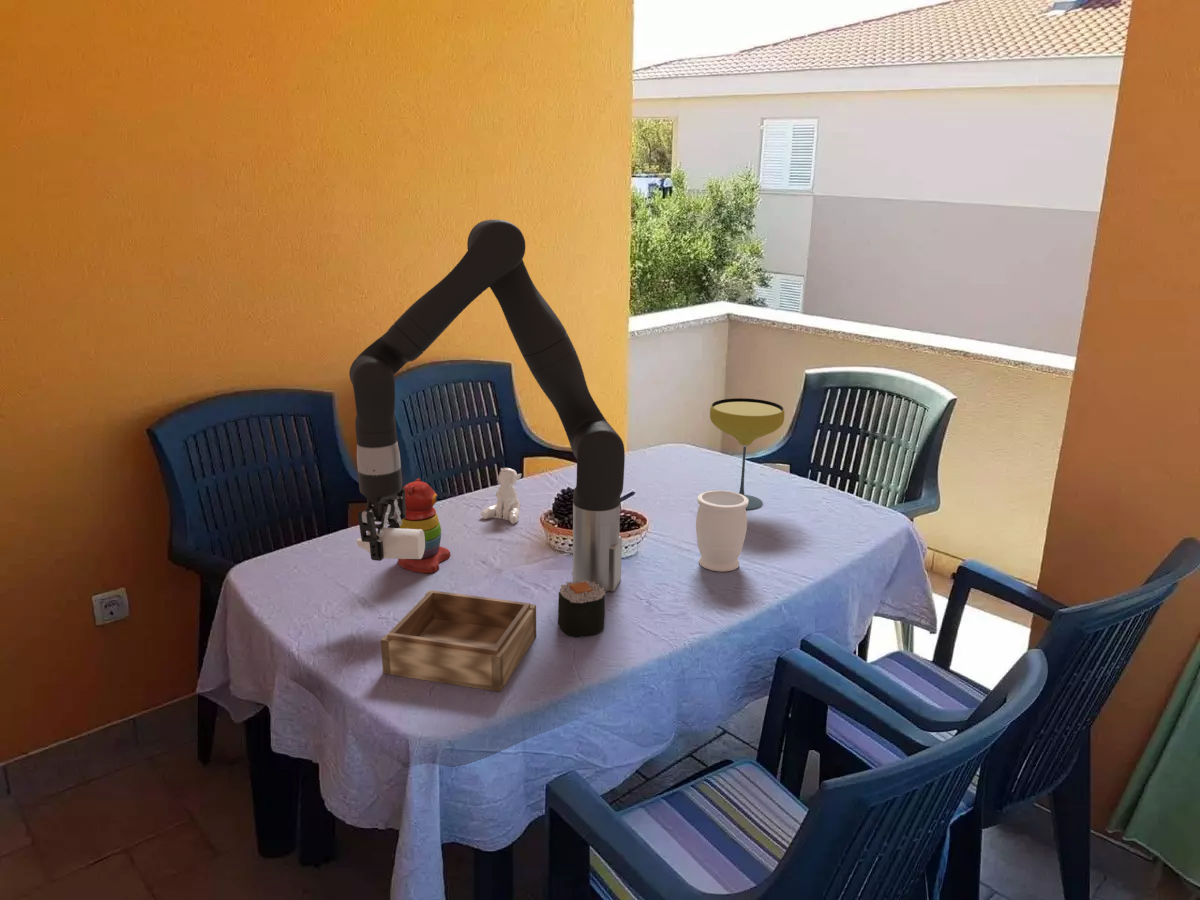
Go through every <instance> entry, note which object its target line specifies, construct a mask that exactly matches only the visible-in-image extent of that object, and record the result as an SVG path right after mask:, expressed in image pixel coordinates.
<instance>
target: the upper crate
mask: <svg viewBox="0 0 1200 900" xmlns="http://www.w3.org/2000/svg"><path fill="white" fill-rule="evenodd" d="M429 591H430V592H429V593H428V594H427V595H426V596H425V595H424V596H425V597H424V596H423V597H424V598H423V597H422V598H423V599H422V598H421V599H422V600H421V599H420V600H421V601H420V600H419V601H420V602H419V601H418V602H419V603H418V602H417V603H418V604H417V603H416V604H417V605H416V604H415V605H416V606H415V605H414V606H415V607H414V608H413V607H412V609H411V610H409V612H408V613H406V614H405V616H404V617H403V618H401V620H400V621H398V622H397V624H396V625H395V626H394V627H395V628H394V627H393V628H394V629H393V628H392V629H393V630H392V629H391V630H392V631H391V630H390V631H391V632H390V631H389V632H390V633H389V632H388V633H389V634H388V633H387V634H388V635H387V634H386V635H387V637H388V638H390V639H391V640H397V641H403V642H410V643H417V644H424V645H431V646H437V647H444V648H451V649H458V650H465V651H471V652H478V653H485V654H497V653H498V652H499V651H500V650H501V648H502V647H503V646H504V644H505V643H506V641H507V640H508V638H509V637H510V636H511V634H512V633H513V631H514V630H515V628H516V627H517V626H518V624H519V623H520V621H521V620H522V619H523V617H524V616H525V614H526V613H527V611H528V610H529V608H530V604H531V603H530V602H523V601H516V600H509V599H508V600H507V599H501V598H491V597H484V596H477V595H472V594H471V595H468V594H463V593H454V592H447V591H446V592H445V591H439V590H429Z"/></svg>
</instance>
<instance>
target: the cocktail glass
mask: <svg viewBox="0 0 1200 900" xmlns="http://www.w3.org/2000/svg"><path fill="white" fill-rule="evenodd" d="M709 419H710V421H711V423H712V424H713V426H715V427H716V428H717V429H719V430H721V432H724V433H725V434H727V435H730V436H731V437H733V438H734V439H736V441H737V442H738V443H739V444H740V446H742V448H743V449H742V465H741V466H742V467H741V478H740V480H741V481H740V486H739V487H740V488H739V492H738V493H739V494H742V495H744V496H746V497H747V498H748V500H749V501H748V506H747V507H746V508H745V509H746V511H752V510H757V509H759V507H760V508H761V507H762V506H763V504H764V503H763V501H762V499H760V498H758V497H756V496H753V495H750V494H745V469H746V467H745V465H746V453H747V451H746V450H747V447H749V446H750V445H751V444H752V443H753V442H755V440H757V439H759V438H761V437H764V436H767V435H769V434H772V433H774V432H776V431H777V430H778V429H780V428H781V427H782V425H783V424H784V421H785V409H784V407H783V406H782V405H780V404H778V403H776V402H773V401H770V400H763V399H759V398H745V397H744V398H742V397H738V398H734V397H733V398H725V399H721V400H716V401H714V402H712V403H711V406H710V409H709Z"/></svg>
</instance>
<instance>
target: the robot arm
mask: <svg viewBox="0 0 1200 900" xmlns="http://www.w3.org/2000/svg"><path fill="white" fill-rule="evenodd" d="M523 234H524V233H522V231H521V229H519V227H518V226H516V225H515V224H514V223H512V222H510V221H508V220H504V219H486V220H482V221H480V222H478V223H476V224H475V225H474V226H473V227H472V229H471V230H470V232H469V234H468V237H467V243H466V244H467V246H466V247H467V251H466V252H465V254H464V255H463V256H462V257H461V259H460V260H459V262H458V263H457V264H456V265H455V266H454V267H453V268H452V270H451V271H450V272H448V273H447V274H446V276H444V277H443V278H442V279H441V280H440V281H439V282H437V284H435V285H434V286H433V287H432V288H430V289H429V290H428V291H426V292H425V293H424V294H423V295H422V296H420V298H418V299H417V300H416V301H415V302H414V303H413V304H411V305H410V306H409V307H408V308H407V309H406V310H405V311H404V313H403V314H402V315H400V317H399V318H398V319H396V321H395V322H393V324H392V325H391V326H390V327H389V328H388V329H387V331H385V333H384V334H383V335H381V336H380V337H379V338H377V339H375V341H374V342H372V343H371V344H370V345H368V347H366V348H365V349H364V350H363V351H362V352H361V353H360V354H358V356H357V357H356V358H355V359H353V362H352V363H351V365H350V368H349V379H350V382H351V384H352V389H353V395H354V404H355V410H356V412H355V413H356V416H355V420H354V421H355V423H354V426H355V439H356V464H357V465H356V467H357V475H358V487H359V492H360V494H361V495H363V496H364V497H366V499H367V503H366V509H365V510H359V511H358V512H357V519H358V525H359V532H360V537H361V539H362V541H363V542H369V543H370V553H371V554H370V553H369V554H370V559H371V560H372V561H377V562H381V561H382V560H384V559H385V558H384V554H383V542H382V536H383V530H384V529H386V528H400V526H401V524H402V519H405V518H406V503H405V489H404V487H403V477H402V463H401V454H400V453H401V452H400V448H399V444H398V434H397V433H398V432H397V431H398V430H397V420H396V416H395V412H396V409H395V408H396V386H395V385H396V384H395V375H396V374H397V373H398V372H399V371H400V370H402V368H403V367H404V366H405V365H406V364H408V363H409V362H414V361H415V360H417V359H418V358H419V357H420V356H421V355H423V353H424V352H425V351H426V350H427V349H429V347H430V346H431V345H432V344H433V343H434V342H435V341H436V340H437V339H438V337H440V335H442V334H443V333H444V331H445V330H446V329H448V327H449V326H450V325H451V324H452V323H453V322H454V321H455V319H457V317H459V315H461V313H462V312H463V311H464V310H466V308H468V306H469V305H470V304H471V303H472V302H473V301H475V300H476V299H477V298H478V297H479V296H480V295H481V294H482V293H484V292H485V291H486V290H488V288H489V289H490V290H491V291H492V293H493V295H494V297H495V298H496V300H497V302H498V304H499V306H500V308H501V310H502V313H503V316H504V318H505V320H506V323H507V325H508V328H509V330H510V332H511V334H512V336H513V338H514V341H515V342H516V344H517V347H518V349H519V352H520V354H521V355H522V357H523V359H524V361H525V363H526V366H527V367H528V368H529V371H530V372H531V375H532V376H533V378H534V379H535V381H536V383H537V384H538V386H539V387H540V388H541V390H542V392H543V393H544V394H545V396H546V397H547V398H548V400H549V401H550V403H551V405H552V406H553V407H554V409H555V411H556V413H557V415H558V416H559V419H560V421H561V424H562V426H563V429H564V432H565V434H566V437H567V439H568V443H569V444H570V445H569V446H570V448H571V451H572V454H573V456H574V457H575V459H576V482H575V483H576V485H575V488H574V489H573V493H572V494H573V495H572V496H573V497H572V582H573V581H574V582H576V581H577V579H579V580H580V581H581V580H587V581H590V582H591V583H592V582H595V585H596V584H599V586H598V587H600V588H604V590H603V591H605V592H615V591H616V589H617V587H618V586H619V583H620V582H621V579H622V550H623V549H622V548H623V547H622V544H623V543H622V542H623V540H622V539H623V537H622V536H621V535H620V522H621V520H620V519H621V496H622V493H623V490H624V481H625V480H624V479H625V462H626V461H625V459H626V457H625V456H626V455H625V453H626V451H625V444H624V442H623V440H622V438H621V437H620V435H619V434H618V433H617V431H616V430H615V429H614V428H613V427H612V425H611V424H610V423H609V422H608V421H607V419H606V417H605V416H604V415H603V413H602V412H601V410H600V408H599V407H598V405H597V403H596V402H595V401H594V399H593V397H592V394H591V392H590V389H589V388H588V385H587V381H586V378H585V374H584V370H583V368H582V365H581V361H580V359H579V356H578V353H577V351H576V349H575V347H574V345H573V343H572V340H571V338H570V336H569V334H568V333H567V330H566V328H565V327H564V324H563V323H562V321H561V320H560V318H559V317H558V315H557V314H556V313H555V312H554V310H553V309H552V307H551V306H550V304H549V303H548V302H547V301H546V299H545V298H544V297H543V296H542V294H541V293H540V291H539V290H538V289H537V287H536V286H535V284H534V282H533V280H532V278H531V276H530V273H529V272H528V269H527V267H526V265H525V263H524V260H523V259H524V256H525V253H526V247H527V246H526V240H525V237H524V235H523ZM376 522H377V523H378V524H377V523H376ZM376 531H378V533H377V534H376Z"/></svg>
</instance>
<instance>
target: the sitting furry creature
mask: <svg viewBox="0 0 1200 900" xmlns="http://www.w3.org/2000/svg"><path fill="white" fill-rule="evenodd" d="M497 478H498V483H499V485H500V486H498V488H497V491H496V494H495V497H496V498H497V500H496V502H495V504H494V505H491V506H488V507H486V508H484V509H483V510H482V511H481V512H480V515H481V518H483V519H484V520H488V519H499V520H501V519H503V520H504V521H509V522H510V523H511V525H512V524H513V525H515V524H517V522H519V519H520V511H521V503H520V500H519V497H518V495H517V494H518V493H517V489H516V488H515V485H516V484H517V482H518V480H520V479H521V478H522V473H517V471H516V470H515V469H512V468H509V467H501V468H500V471H499V475H498V476H497Z"/></svg>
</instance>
